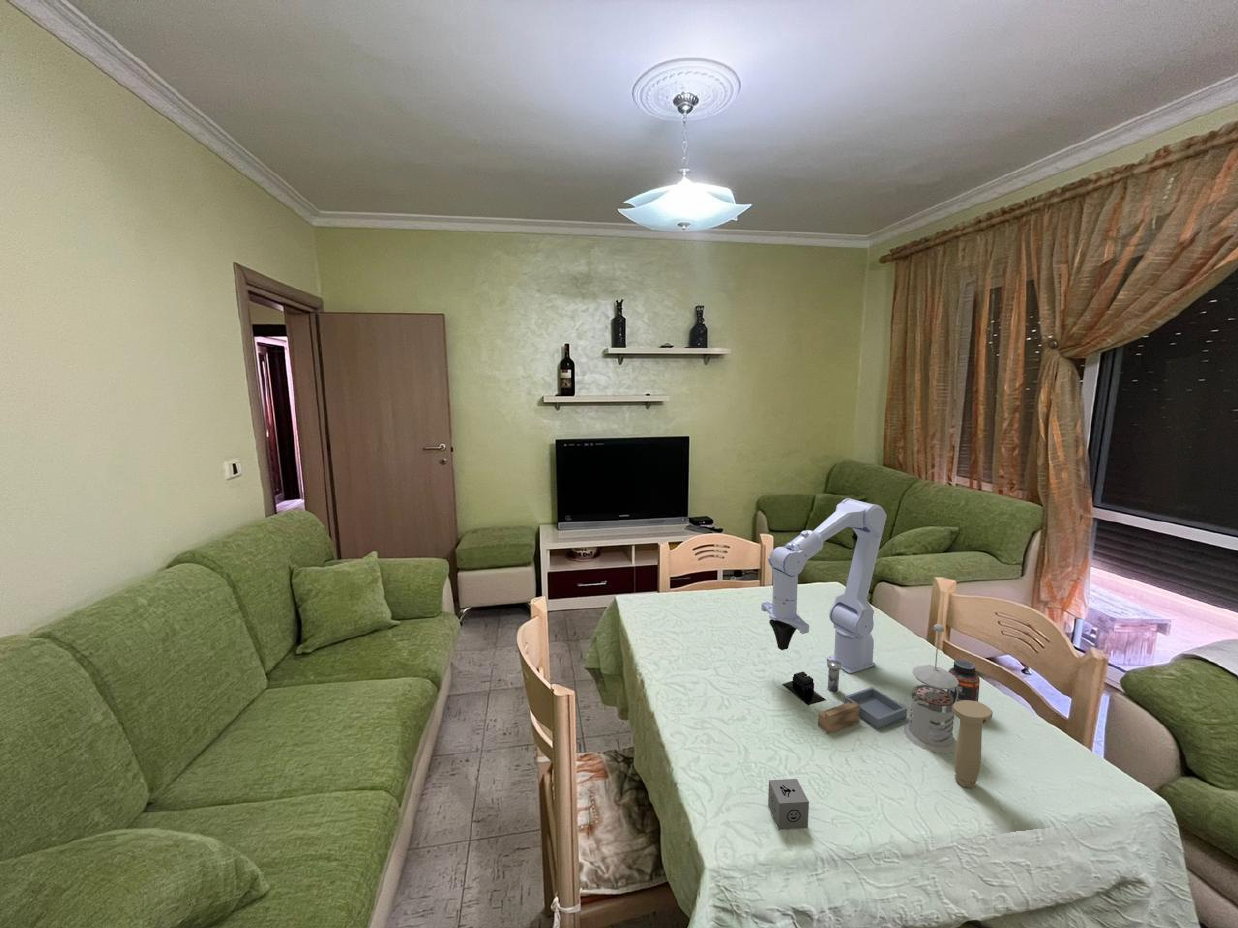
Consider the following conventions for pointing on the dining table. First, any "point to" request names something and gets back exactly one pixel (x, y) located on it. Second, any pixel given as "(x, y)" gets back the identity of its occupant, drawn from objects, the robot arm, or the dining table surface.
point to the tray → (877, 708)
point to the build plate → (804, 689)
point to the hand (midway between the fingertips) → (783, 648)
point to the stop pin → (833, 675)
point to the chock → (839, 717)
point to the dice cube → (788, 804)
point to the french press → (932, 708)
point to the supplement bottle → (965, 681)
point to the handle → (969, 740)
